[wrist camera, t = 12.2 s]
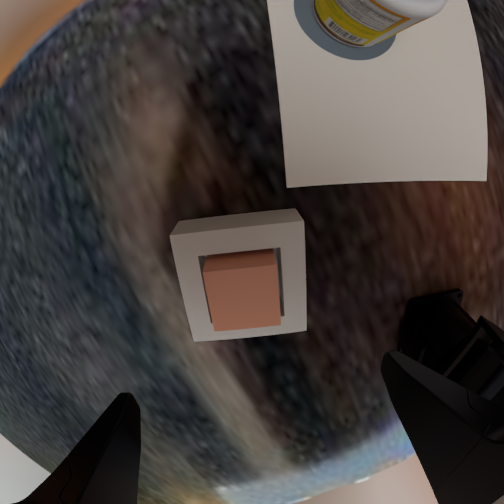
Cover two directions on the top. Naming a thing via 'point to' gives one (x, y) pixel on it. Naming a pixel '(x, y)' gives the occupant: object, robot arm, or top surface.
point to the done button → (242, 289)
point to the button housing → (236, 240)
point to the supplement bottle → (371, 18)
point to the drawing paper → (380, 100)
